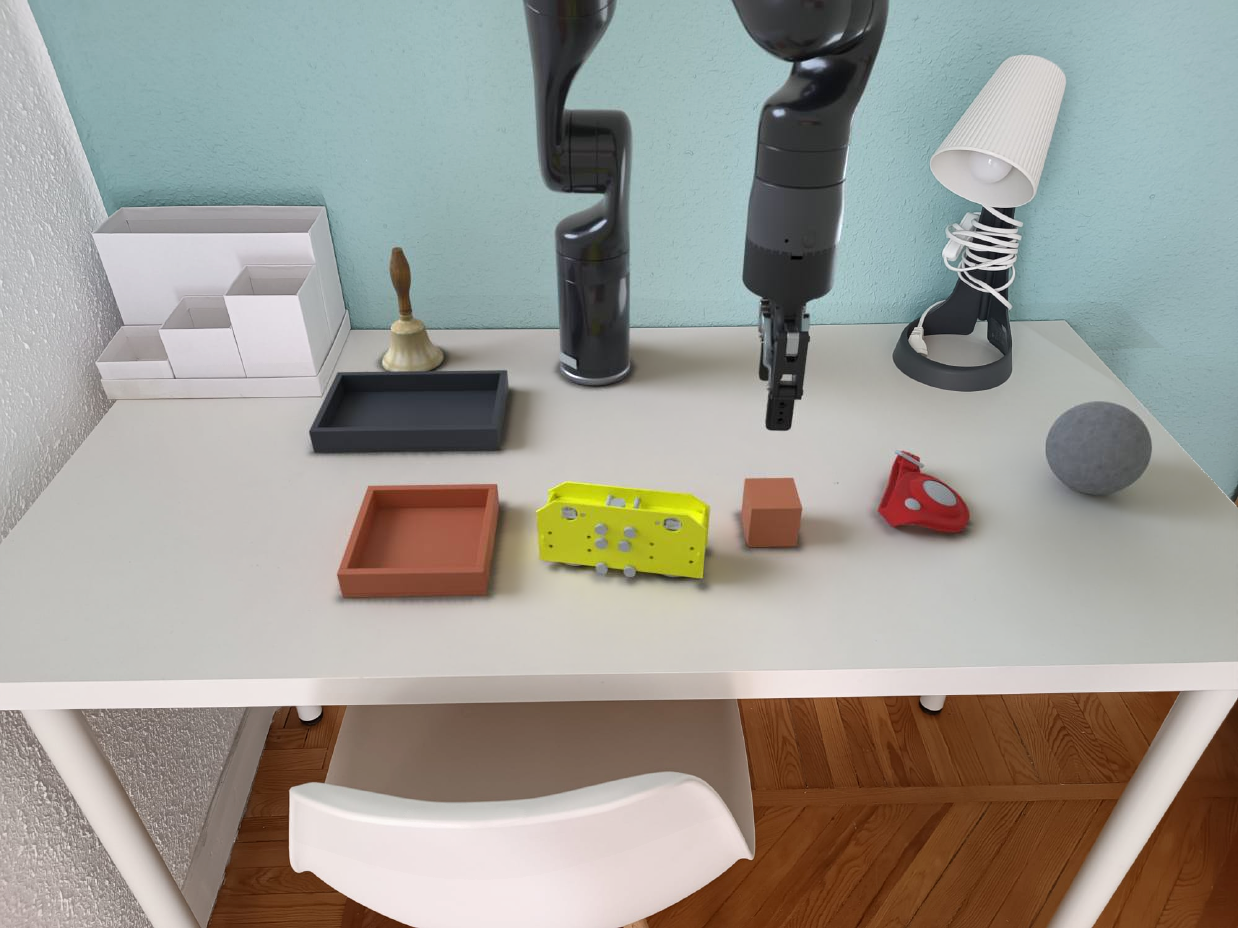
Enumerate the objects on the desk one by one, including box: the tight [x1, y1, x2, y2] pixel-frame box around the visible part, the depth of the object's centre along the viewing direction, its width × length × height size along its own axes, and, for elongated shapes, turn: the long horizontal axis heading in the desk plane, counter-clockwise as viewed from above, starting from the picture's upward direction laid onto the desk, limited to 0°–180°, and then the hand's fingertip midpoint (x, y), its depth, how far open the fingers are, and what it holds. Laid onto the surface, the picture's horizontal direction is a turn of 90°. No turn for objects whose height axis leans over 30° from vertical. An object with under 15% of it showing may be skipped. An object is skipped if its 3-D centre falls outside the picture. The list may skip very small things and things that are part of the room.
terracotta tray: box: [336, 483, 501, 598], centre depth 87 cm, size 14×14×3 cm
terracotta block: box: [740, 477, 803, 548], centre depth 89 cm, size 5×5×5 cm
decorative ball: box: [1045, 400, 1153, 496], centre depth 93 cm, size 10×10×10 cm
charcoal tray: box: [308, 369, 510, 454], centre depth 107 cm, size 14×22×3 cm, turn 91°
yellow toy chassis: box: [535, 480, 711, 579], centre depth 84 cm, size 16×6×8 cm, turn 80°
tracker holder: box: [877, 449, 971, 534], centre depth 92 cm, size 12×4×10 cm
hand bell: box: [381, 246, 445, 372], centre depth 115 cm, size 8×8×16 cm
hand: (773, 403), depth 80 cm, fingers open, 8 cm apart
